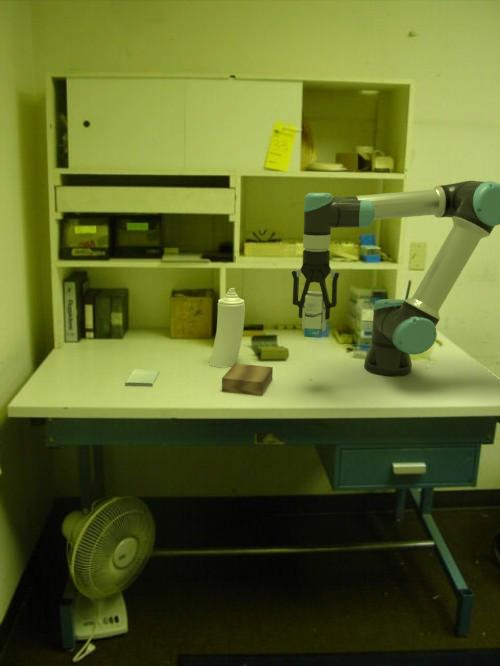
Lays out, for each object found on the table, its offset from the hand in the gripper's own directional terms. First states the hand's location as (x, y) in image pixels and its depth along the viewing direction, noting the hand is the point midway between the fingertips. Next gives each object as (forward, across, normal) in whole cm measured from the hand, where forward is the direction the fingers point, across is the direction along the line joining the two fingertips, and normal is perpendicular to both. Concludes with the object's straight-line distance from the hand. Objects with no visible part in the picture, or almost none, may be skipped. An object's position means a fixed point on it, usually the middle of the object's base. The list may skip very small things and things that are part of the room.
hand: (313, 329), depth 179 cm
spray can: (+18, +31, -15) cm, 38 cm away
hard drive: (+18, +51, +8) cm, 54 cm away
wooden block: (+17, +19, +4) cm, 26 cm away
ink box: (+2, 0, 0) cm, 2 cm away
